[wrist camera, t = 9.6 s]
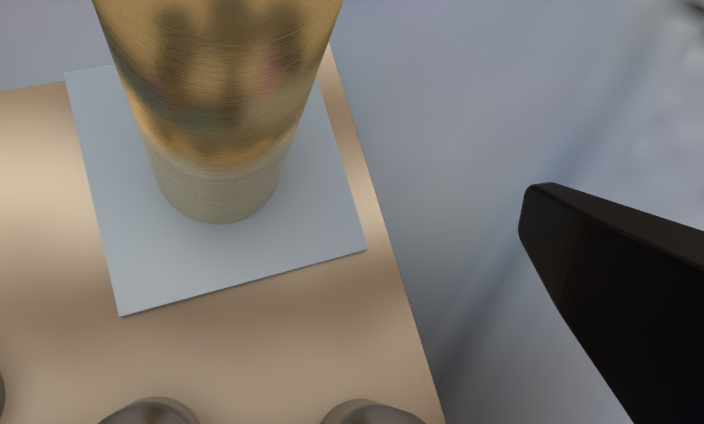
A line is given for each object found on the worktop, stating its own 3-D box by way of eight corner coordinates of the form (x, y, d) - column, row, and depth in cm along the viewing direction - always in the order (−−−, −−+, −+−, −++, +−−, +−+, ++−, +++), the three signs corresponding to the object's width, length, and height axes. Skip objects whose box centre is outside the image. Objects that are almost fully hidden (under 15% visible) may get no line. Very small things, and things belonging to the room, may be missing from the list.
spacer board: (451, 472, 20) (463, 478, 20) (-250, 749, 15) (-282, 775, 14) (322, 49, 23) (327, 37, 22) (-318, 162, 18) (-349, 150, 17)
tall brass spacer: (271, 232, 19) (348, 64, 8) (143, 214, 19) (26, -1, 7) (287, 118, 20) (376, -177, 9) (166, 96, 20) (95, -257, 8)
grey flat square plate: (364, 251, 21) (368, 248, 20) (122, 317, 18) (119, 316, 18) (301, 41, 22) (303, 32, 21) (67, 80, 20) (63, 72, 19)
